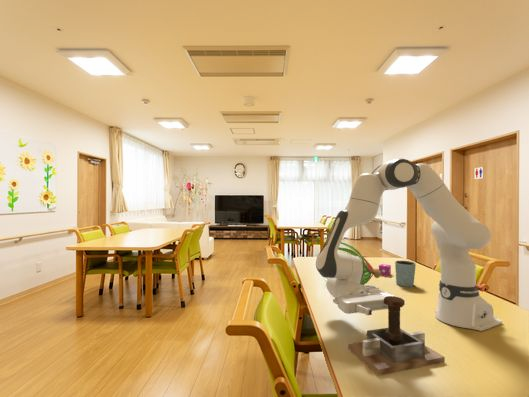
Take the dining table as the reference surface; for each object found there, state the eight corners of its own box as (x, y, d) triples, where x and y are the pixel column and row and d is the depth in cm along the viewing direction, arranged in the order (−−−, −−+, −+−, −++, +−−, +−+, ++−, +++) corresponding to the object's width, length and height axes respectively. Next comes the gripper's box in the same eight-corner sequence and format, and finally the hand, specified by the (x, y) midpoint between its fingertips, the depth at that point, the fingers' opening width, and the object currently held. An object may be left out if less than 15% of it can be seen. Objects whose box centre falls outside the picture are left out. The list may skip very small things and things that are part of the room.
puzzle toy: (381, 273, 183) (381, 263, 183) (390, 274, 180) (390, 265, 180) (378, 274, 178) (378, 265, 178) (388, 276, 175) (388, 266, 175)
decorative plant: (384, 304, 142) (321, 298, 146) (373, 280, 167) (319, 275, 171) (390, 254, 137) (325, 250, 141) (377, 237, 161) (322, 233, 166)
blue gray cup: (405, 281, 164) (405, 260, 164) (420, 286, 154) (420, 263, 155) (390, 282, 161) (390, 261, 161) (404, 288, 151) (405, 265, 151)
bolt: (388, 343, 90) (388, 294, 90) (406, 348, 86) (405, 298, 87) (382, 351, 85) (382, 299, 85) (400, 357, 82) (400, 303, 82)
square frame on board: (407, 339, 96) (407, 322, 96) (444, 362, 82) (444, 342, 82) (348, 348, 89) (348, 330, 89) (378, 375, 76) (378, 354, 76)
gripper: (330, 290, 101) (353, 304, 88) (380, 285, 107) (409, 298, 94) (330, 308, 101) (353, 325, 88) (380, 303, 107) (408, 317, 94)
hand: (382, 311), depth 91 cm, fingers open, 8 cm apart
